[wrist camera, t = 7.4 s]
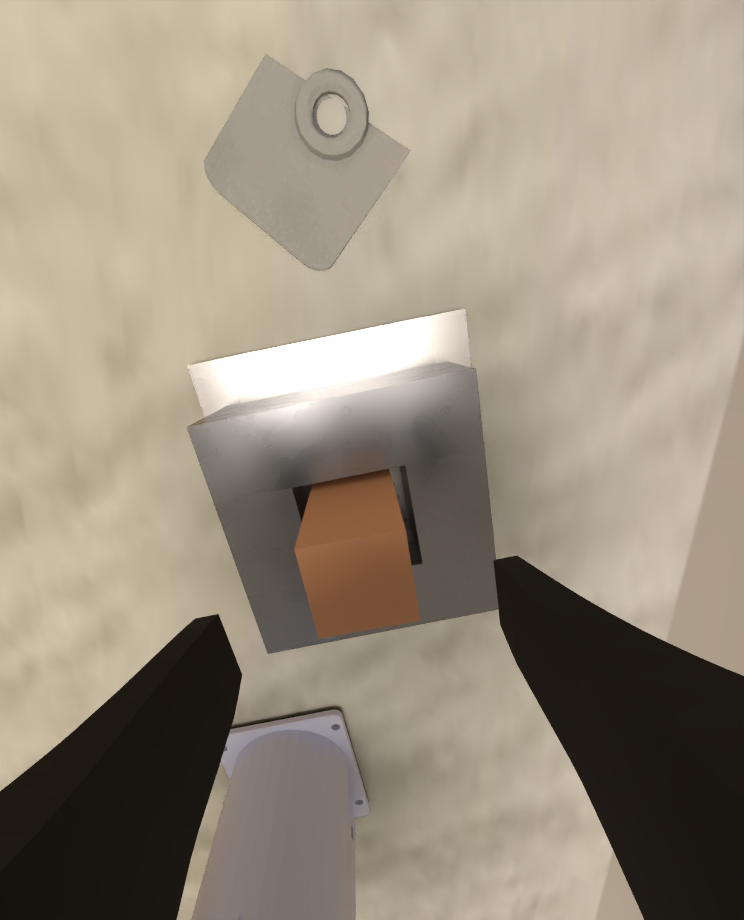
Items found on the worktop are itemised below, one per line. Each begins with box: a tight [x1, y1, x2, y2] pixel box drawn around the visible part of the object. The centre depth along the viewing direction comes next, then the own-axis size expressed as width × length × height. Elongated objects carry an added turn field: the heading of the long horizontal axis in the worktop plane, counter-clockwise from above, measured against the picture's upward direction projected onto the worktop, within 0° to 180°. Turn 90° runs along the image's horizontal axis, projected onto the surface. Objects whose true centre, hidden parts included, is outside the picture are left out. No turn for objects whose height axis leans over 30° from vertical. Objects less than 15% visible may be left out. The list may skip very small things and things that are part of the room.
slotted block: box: [187, 309, 499, 654], centre depth 17 cm, size 14×12×5 cm
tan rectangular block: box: [294, 469, 421, 639], centre depth 14 cm, size 3×3×8 cm
